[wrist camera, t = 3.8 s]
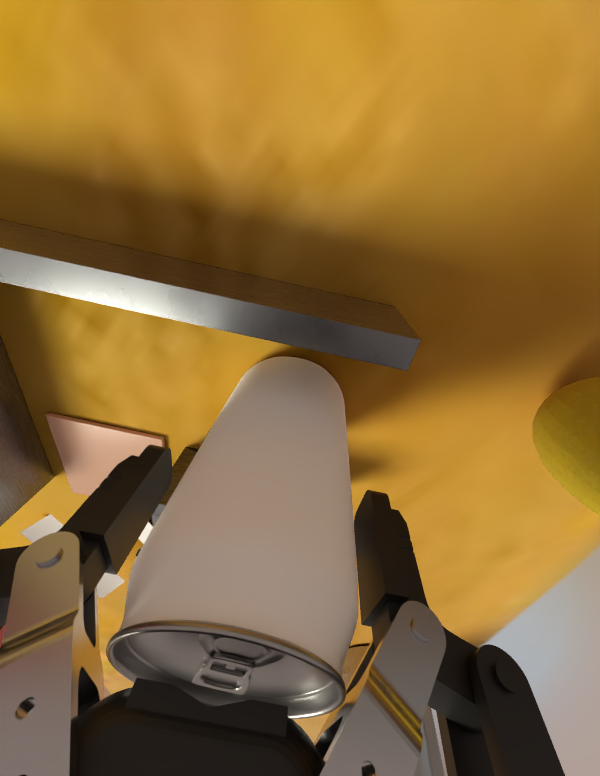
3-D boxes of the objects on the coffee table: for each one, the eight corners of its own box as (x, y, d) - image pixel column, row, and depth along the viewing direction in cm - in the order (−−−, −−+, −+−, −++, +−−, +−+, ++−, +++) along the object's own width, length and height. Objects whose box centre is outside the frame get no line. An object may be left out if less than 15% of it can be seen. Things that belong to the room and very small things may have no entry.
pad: (164, 437, 19) (161, 439, 19) (169, 508, 23) (167, 512, 23) (49, 412, 19) (45, 415, 19) (75, 489, 23) (72, 492, 23)
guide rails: (395, 306, 13) (420, 340, 10) (312, 531, 23) (309, 593, 19) (-75, 203, 13) (-244, 194, 9) (39, 474, 23) (-21, 525, 19)
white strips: (207, 570, 29) (201, 590, 28) (112, 579, 32) (101, 598, 30) (146, 493, 24) (133, 513, 22) (37, 512, 26) (18, 530, 25)
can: (362, 374, 15) (425, 676, 5) (322, 455, 19) (310, 738, 8) (250, 336, 15) (70, 584, 5) (228, 425, 18) (94, 687, 8)
